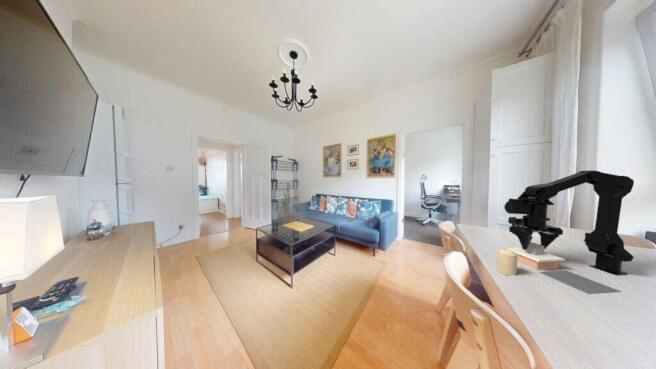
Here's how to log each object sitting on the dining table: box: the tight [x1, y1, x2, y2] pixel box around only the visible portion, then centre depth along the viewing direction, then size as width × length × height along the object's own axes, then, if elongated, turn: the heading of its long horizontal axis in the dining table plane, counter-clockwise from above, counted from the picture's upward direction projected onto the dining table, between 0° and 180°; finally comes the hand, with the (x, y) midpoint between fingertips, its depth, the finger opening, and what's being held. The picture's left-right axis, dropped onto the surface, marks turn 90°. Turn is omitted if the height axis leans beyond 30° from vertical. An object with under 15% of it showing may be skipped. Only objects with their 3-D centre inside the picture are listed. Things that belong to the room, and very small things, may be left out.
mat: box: [538, 270, 623, 295], centre depth 65 cm, size 13×13×1 cm
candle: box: [496, 247, 518, 277], centre depth 71 cm, size 6×6×10 cm
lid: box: [507, 241, 566, 262], centre depth 77 cm, size 12×12×5 cm
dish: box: [516, 253, 560, 271], centre depth 78 cm, size 10×10×4 cm
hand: (533, 249), depth 77 cm, fingers open, 9 cm apart
